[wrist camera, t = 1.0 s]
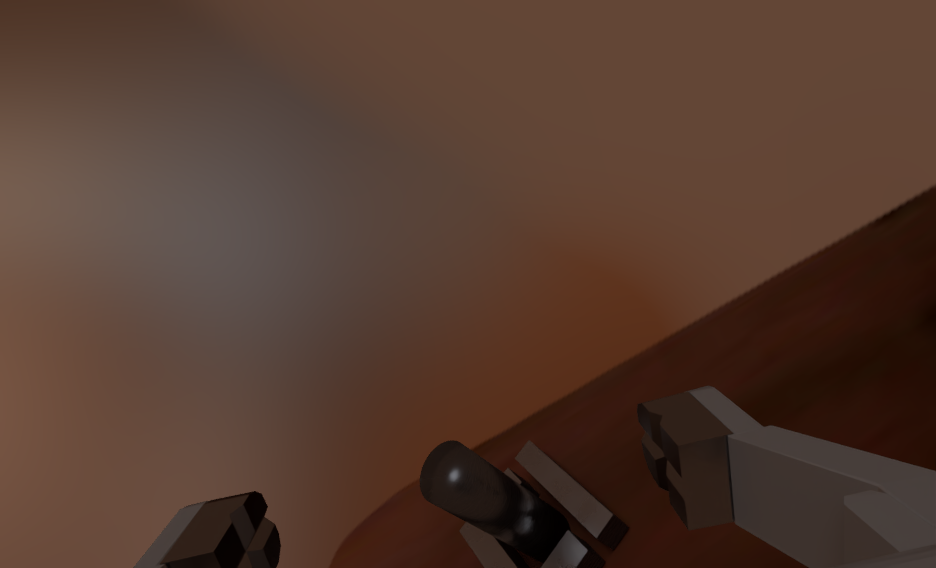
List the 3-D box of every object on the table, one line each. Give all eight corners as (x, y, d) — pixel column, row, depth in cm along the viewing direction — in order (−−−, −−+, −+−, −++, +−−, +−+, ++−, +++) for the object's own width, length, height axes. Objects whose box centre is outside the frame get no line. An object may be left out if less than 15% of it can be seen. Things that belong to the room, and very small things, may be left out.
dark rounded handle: (546, 498, 38) (449, 429, 30) (579, 531, 35) (480, 463, 27) (517, 537, 37) (411, 477, 30) (548, 575, 34) (437, 518, 26)
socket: (545, 453, 41) (529, 440, 39) (629, 527, 33) (613, 514, 31) (479, 540, 39) (459, 530, 38) (550, 640, 31) (529, 633, 30)
